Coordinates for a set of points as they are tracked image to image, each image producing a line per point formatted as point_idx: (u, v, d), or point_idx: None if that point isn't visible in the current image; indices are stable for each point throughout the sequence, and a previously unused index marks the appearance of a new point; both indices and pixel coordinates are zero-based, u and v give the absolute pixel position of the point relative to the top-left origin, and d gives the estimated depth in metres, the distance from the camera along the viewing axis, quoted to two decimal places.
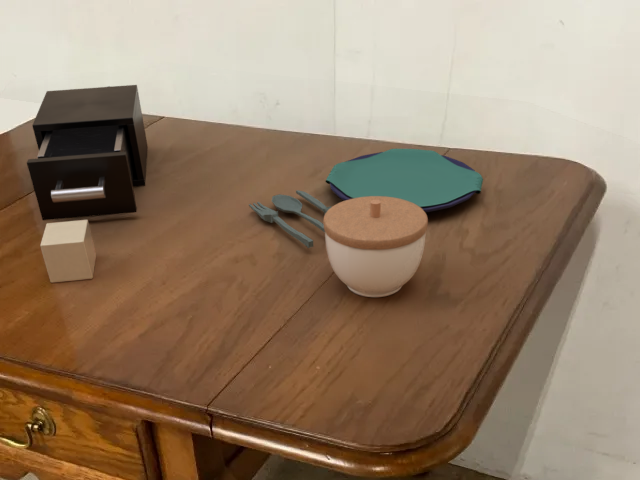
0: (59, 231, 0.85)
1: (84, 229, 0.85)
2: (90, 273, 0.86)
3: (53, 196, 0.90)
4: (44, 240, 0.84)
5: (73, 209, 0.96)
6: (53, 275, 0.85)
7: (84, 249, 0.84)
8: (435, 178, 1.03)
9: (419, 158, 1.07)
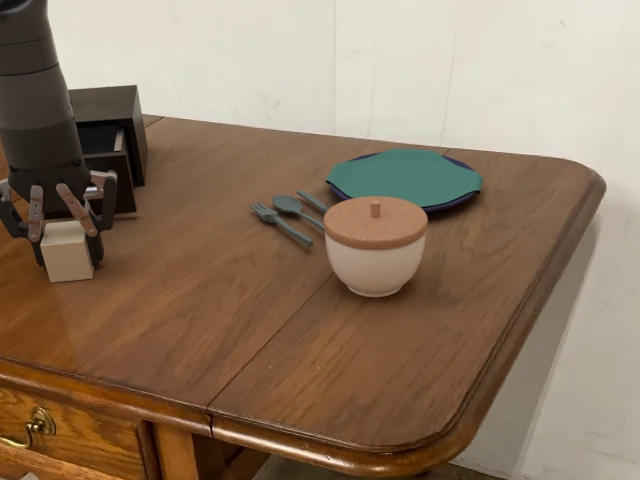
0: (59, 231, 0.85)
1: None
2: (90, 273, 0.86)
3: None
4: (44, 240, 0.84)
5: None
6: (53, 275, 0.85)
7: (84, 249, 0.84)
8: (435, 178, 1.03)
9: (419, 158, 1.07)
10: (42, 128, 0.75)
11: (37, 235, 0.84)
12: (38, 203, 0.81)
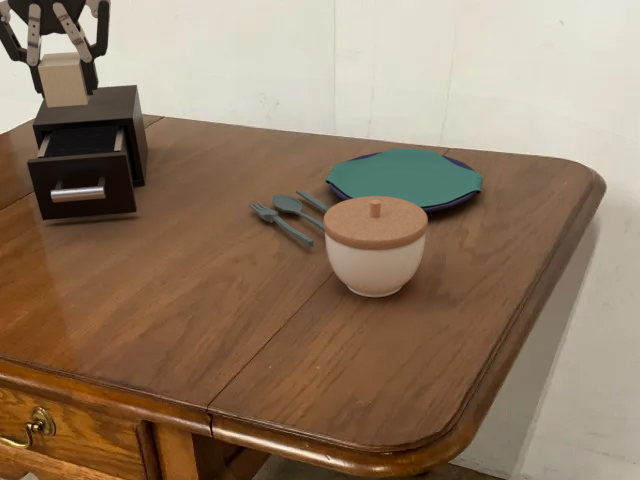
0: (56, 58, 0.90)
1: (79, 57, 0.91)
2: (85, 98, 0.91)
3: (53, 196, 0.90)
4: (41, 63, 0.89)
5: (73, 209, 0.96)
6: (50, 99, 0.90)
7: (79, 72, 0.89)
8: (435, 178, 1.03)
9: (419, 158, 1.07)
10: None
11: (35, 59, 0.89)
12: (36, 23, 0.86)
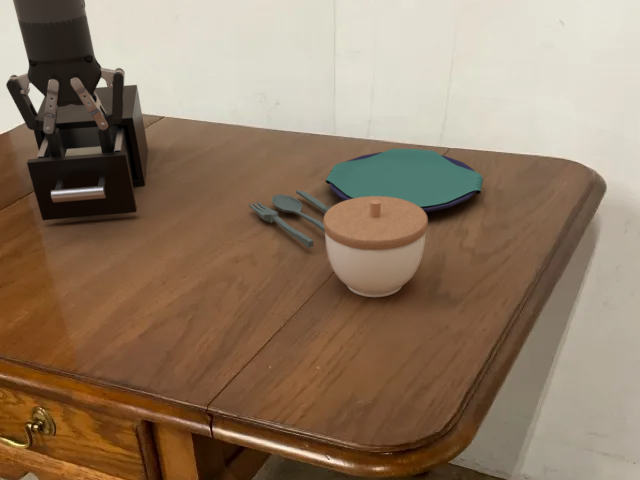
0: (78, 154, 0.98)
1: None
2: None
3: (53, 196, 0.90)
4: None
5: (73, 209, 0.96)
6: None
7: None
8: (435, 178, 1.03)
9: (419, 158, 1.07)
10: (59, 22, 0.85)
11: (51, 127, 0.94)
12: (54, 96, 0.91)
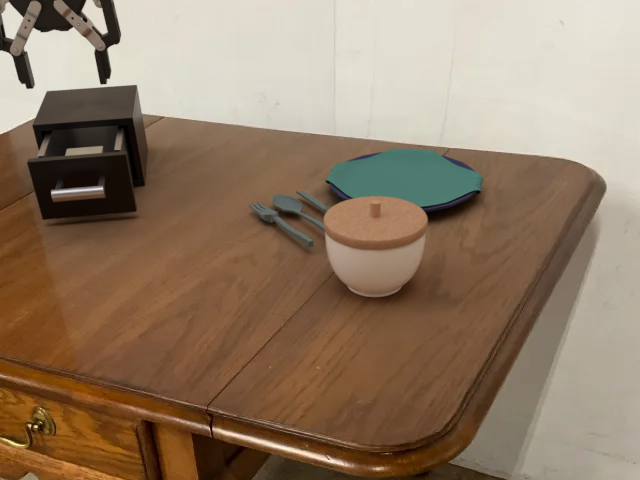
0: (78, 154, 0.98)
1: None
2: None
3: (53, 196, 0.90)
4: None
5: (73, 209, 0.96)
6: None
7: None
8: (435, 178, 1.03)
9: (419, 158, 1.07)
10: None
11: (19, 50, 0.88)
12: (32, 19, 0.86)
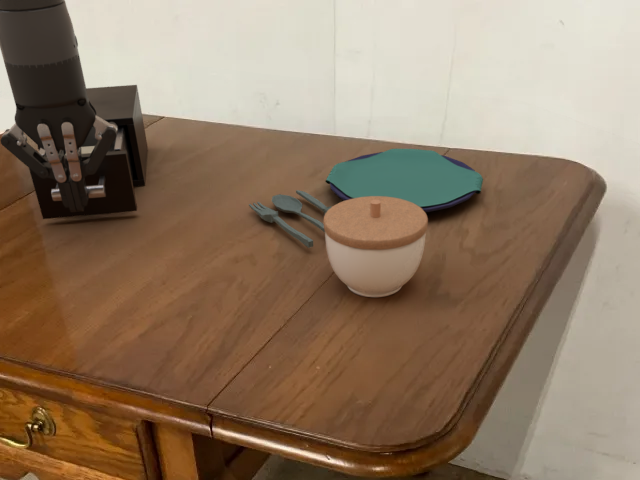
0: None
1: None
2: None
3: (53, 195, 0.90)
4: None
5: None
6: None
7: None
8: (435, 178, 1.03)
9: (419, 158, 1.07)
10: (48, 64, 0.77)
11: (62, 174, 0.86)
12: (49, 141, 0.84)
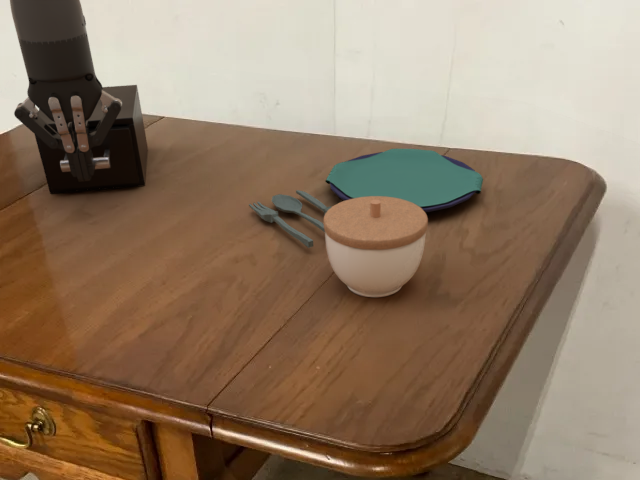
0: None
1: None
2: None
3: (62, 166, 0.97)
4: None
5: None
6: None
7: None
8: (435, 178, 1.03)
9: (419, 158, 1.07)
10: (59, 41, 0.84)
11: (71, 145, 0.93)
12: (59, 114, 0.91)
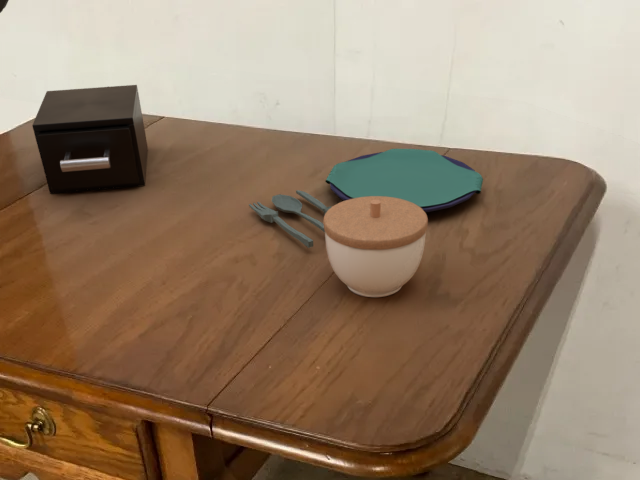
0: None
1: None
2: None
3: (62, 166, 0.97)
4: None
5: (80, 179, 1.03)
6: None
7: None
8: (435, 178, 1.03)
9: (419, 158, 1.07)
10: None
11: None
12: None
